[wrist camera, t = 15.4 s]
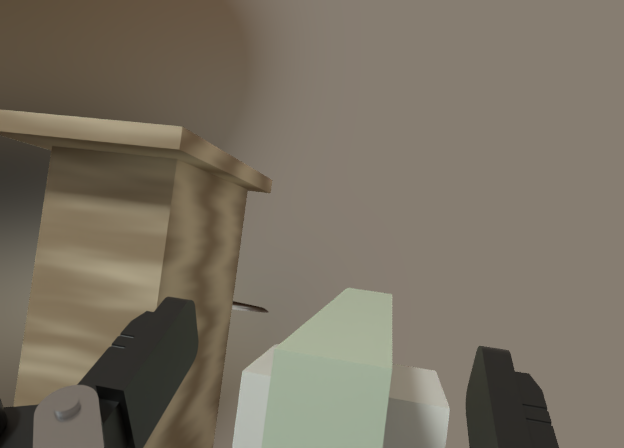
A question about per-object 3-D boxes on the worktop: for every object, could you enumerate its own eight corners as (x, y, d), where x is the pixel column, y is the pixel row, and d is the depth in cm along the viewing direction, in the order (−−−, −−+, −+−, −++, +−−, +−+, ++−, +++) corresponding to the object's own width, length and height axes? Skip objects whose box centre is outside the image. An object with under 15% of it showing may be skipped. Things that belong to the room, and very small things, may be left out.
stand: (97, 905, 20) (204, 128, 21) (-146, 809, 22) (-37, 106, 23) (232, 602, 36) (287, 183, 37) (89, 564, 38) (145, 167, 39)
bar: (377, 492, 14) (392, 368, 14) (259, 466, 14) (274, 348, 14) (386, 339, 37) (392, 294, 37) (341, 331, 38) (347, 287, 38)
